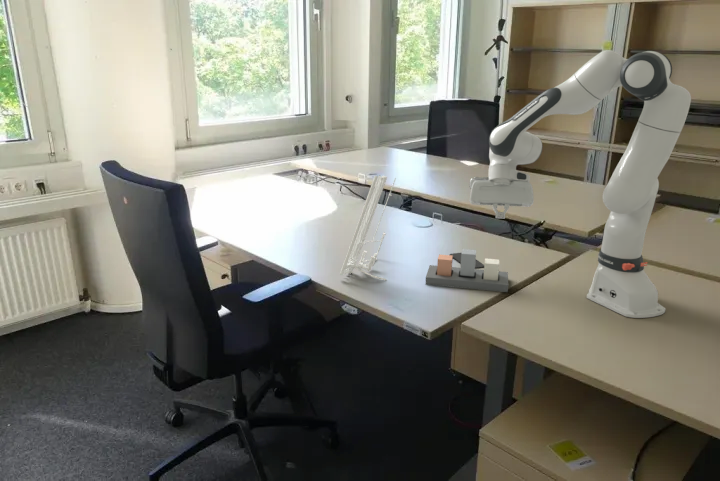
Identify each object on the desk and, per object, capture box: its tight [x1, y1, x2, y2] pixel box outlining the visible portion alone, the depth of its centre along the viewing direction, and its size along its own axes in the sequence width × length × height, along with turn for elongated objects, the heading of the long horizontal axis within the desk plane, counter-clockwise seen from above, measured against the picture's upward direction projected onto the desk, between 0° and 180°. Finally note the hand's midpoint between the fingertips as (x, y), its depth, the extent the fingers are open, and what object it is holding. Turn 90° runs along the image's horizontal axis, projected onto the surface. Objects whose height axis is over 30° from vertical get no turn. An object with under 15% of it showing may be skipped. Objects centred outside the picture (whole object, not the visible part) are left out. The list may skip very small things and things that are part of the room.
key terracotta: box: [436, 254, 454, 276], centre depth 176 cm, size 4×4×8 cm
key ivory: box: [483, 257, 500, 281], centre depth 173 cm, size 4×4×8 cm
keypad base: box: [425, 264, 509, 293], centre depth 175 cm, size 26×11×2 cm, turn 76°
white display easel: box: [339, 175, 397, 281], centre depth 180 cm, size 24×14×35 cm, turn 148°
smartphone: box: [449, 252, 485, 269], centre depth 194 cm, size 7×1×15 cm
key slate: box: [459, 248, 477, 276], centre depth 174 cm, size 4×4×8 cm
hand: (500, 218), depth 173 cm, fingers closed
